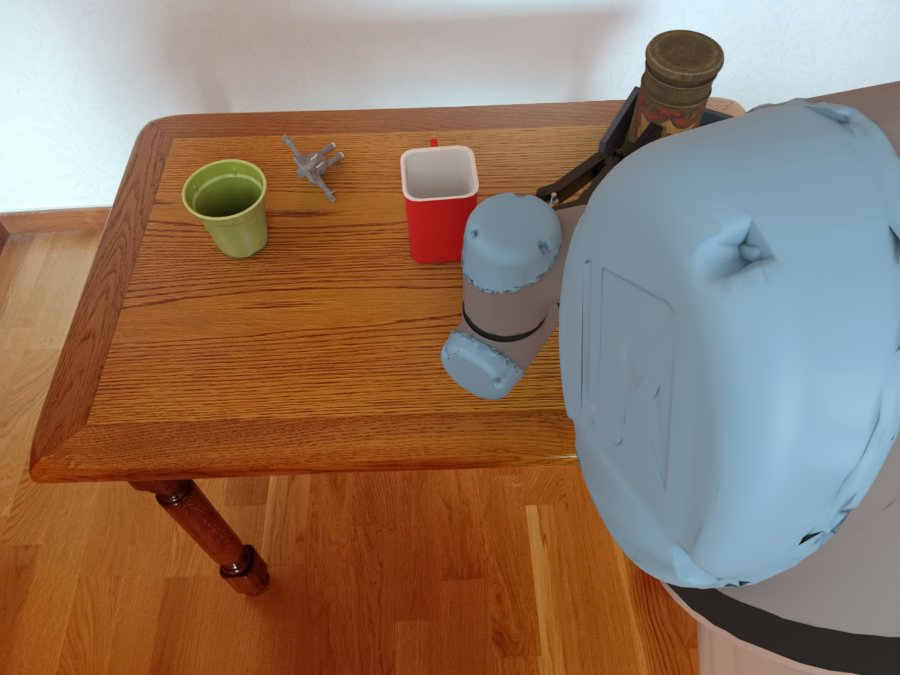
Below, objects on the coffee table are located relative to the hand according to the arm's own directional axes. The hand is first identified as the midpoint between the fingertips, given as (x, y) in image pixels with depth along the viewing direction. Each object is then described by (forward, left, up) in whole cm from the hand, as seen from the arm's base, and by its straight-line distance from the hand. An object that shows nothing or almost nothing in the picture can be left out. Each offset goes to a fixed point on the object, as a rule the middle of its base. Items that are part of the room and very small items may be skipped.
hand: (654, 134), depth 81 cm
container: (+2, -3, -10) cm, 11 cm away
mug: (+4, +25, -10) cm, 27 cm away
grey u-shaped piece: (+3, -4, -10) cm, 11 cm away
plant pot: (+11, +48, -10) cm, 50 cm away
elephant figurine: (+18, +37, -10) cm, 42 cm away
